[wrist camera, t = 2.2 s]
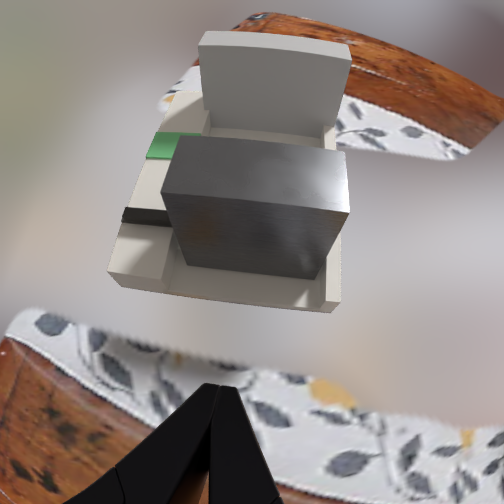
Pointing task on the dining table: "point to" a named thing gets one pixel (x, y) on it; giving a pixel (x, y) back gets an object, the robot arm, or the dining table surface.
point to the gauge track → (241, 127)
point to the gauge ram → (252, 205)
